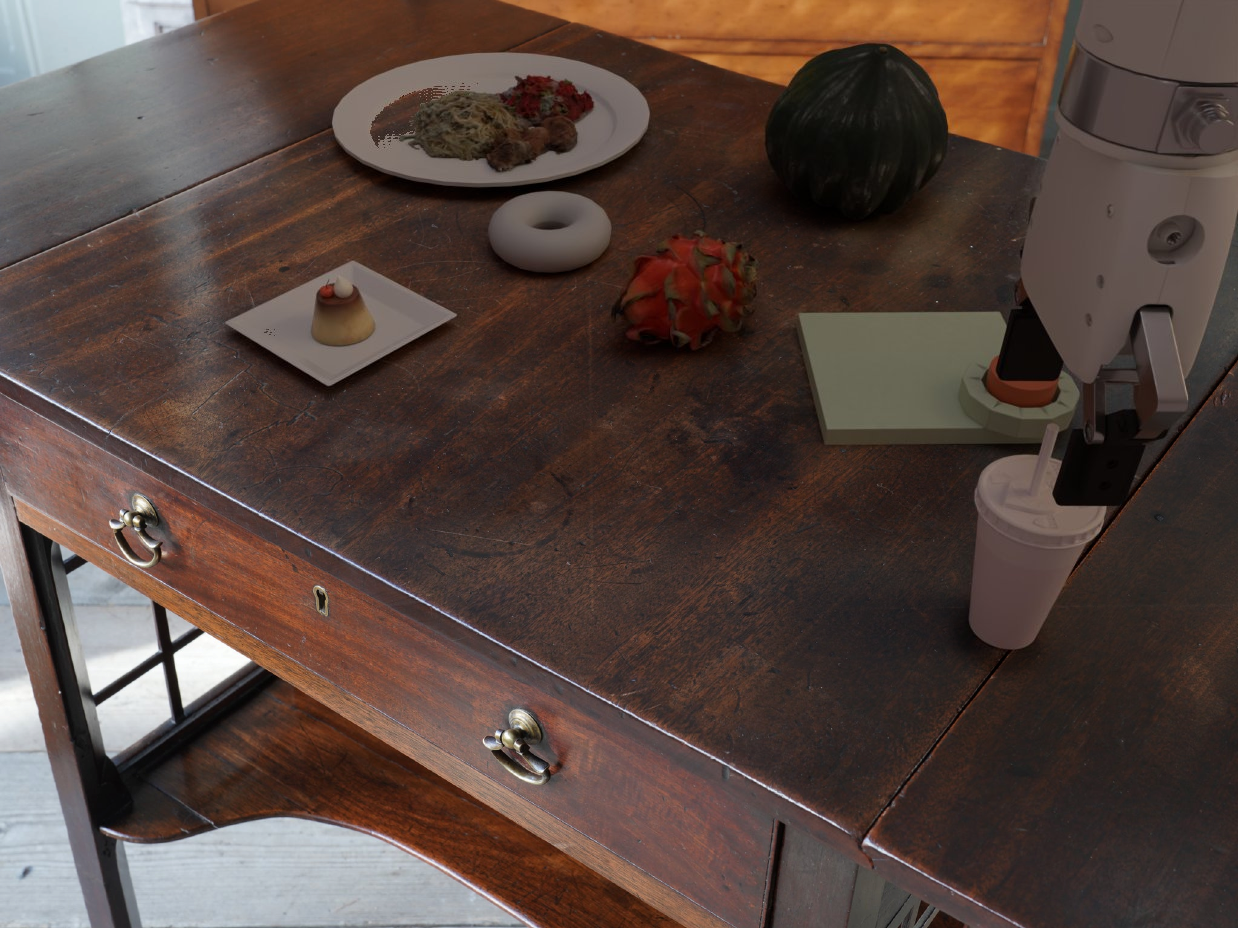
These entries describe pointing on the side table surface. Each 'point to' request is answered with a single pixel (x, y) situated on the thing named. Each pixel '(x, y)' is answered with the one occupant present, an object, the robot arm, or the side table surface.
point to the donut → (549, 231)
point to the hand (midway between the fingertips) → (1054, 436)
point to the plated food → (496, 120)
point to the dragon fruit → (687, 291)
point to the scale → (917, 380)
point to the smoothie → (1023, 545)
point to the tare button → (1020, 390)
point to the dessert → (340, 321)
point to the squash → (858, 130)
